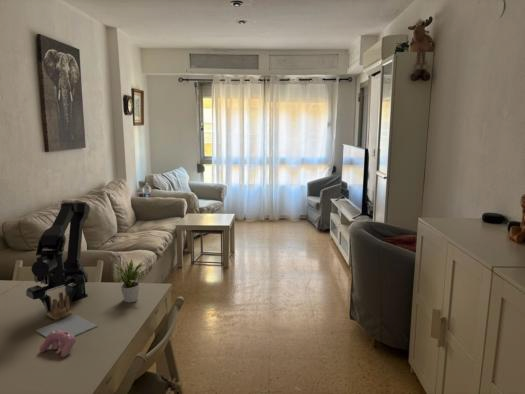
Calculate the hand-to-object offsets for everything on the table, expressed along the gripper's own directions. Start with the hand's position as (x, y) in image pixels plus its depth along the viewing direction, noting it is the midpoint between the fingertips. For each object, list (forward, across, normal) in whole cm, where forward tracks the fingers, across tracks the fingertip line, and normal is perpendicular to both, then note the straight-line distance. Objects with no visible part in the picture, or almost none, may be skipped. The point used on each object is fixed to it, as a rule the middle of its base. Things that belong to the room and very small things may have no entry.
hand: (58, 307), depth 145 cm
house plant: (+3, -24, +12) cm, 26 cm away
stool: (+3, 0, 0) cm, 3 cm away
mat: (+2, +4, +13) cm, 14 cm away
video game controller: (+3, +12, +24) cm, 27 cm away
